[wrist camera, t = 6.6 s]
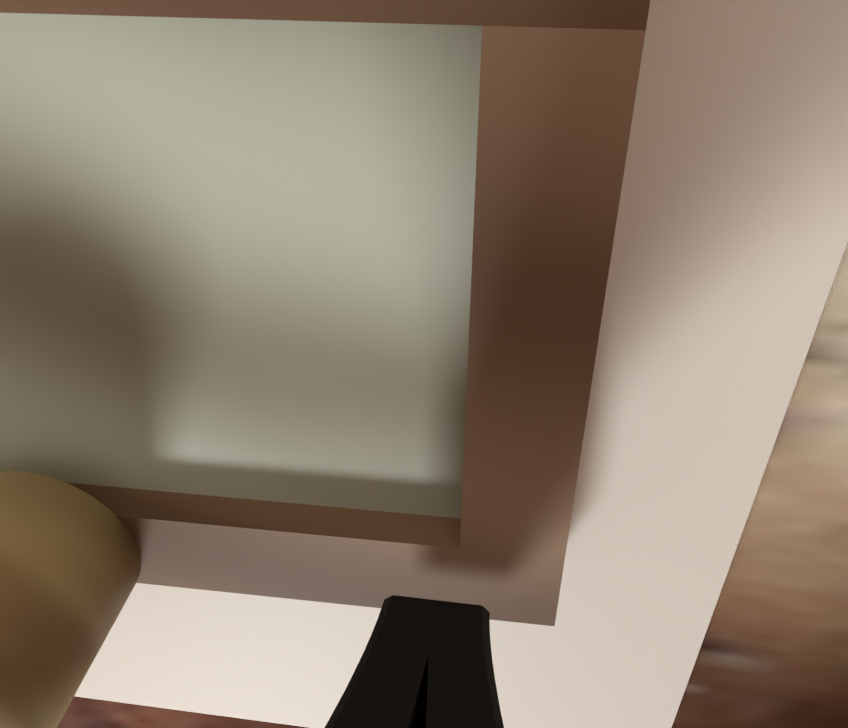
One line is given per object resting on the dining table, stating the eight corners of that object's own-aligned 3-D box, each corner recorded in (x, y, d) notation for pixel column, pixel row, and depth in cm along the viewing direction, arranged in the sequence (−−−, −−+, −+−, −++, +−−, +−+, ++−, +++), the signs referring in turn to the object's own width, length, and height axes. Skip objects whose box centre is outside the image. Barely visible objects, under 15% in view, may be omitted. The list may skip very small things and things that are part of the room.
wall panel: (649, 736, 17) (654, 776, 16) (-243, 621, 18) (-275, 652, 18) (1189, -853, 5) (1287, -960, 5) (-1214, -745, 7) (-1404, -810, 7)
